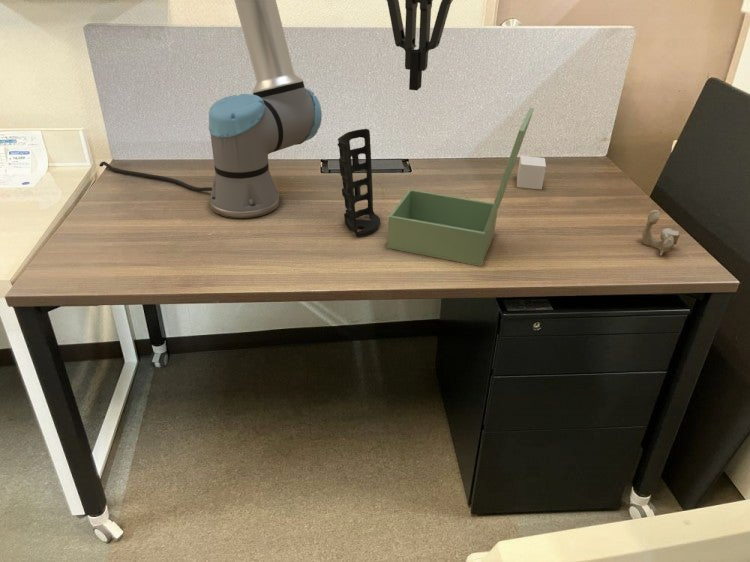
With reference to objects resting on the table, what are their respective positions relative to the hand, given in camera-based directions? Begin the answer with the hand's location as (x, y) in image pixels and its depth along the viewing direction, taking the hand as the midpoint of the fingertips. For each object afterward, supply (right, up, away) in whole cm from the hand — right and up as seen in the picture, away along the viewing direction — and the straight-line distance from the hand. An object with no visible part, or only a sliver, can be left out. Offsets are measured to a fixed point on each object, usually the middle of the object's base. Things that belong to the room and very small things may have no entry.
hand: (415, 88), depth 110 cm
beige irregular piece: (+52, -29, +14) cm, 61 cm away
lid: (+17, -14, +2) cm, 23 cm away
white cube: (+31, -11, +41) cm, 53 cm away
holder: (-11, -24, +19) cm, 32 cm away
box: (+6, -27, +14) cm, 31 cm away
